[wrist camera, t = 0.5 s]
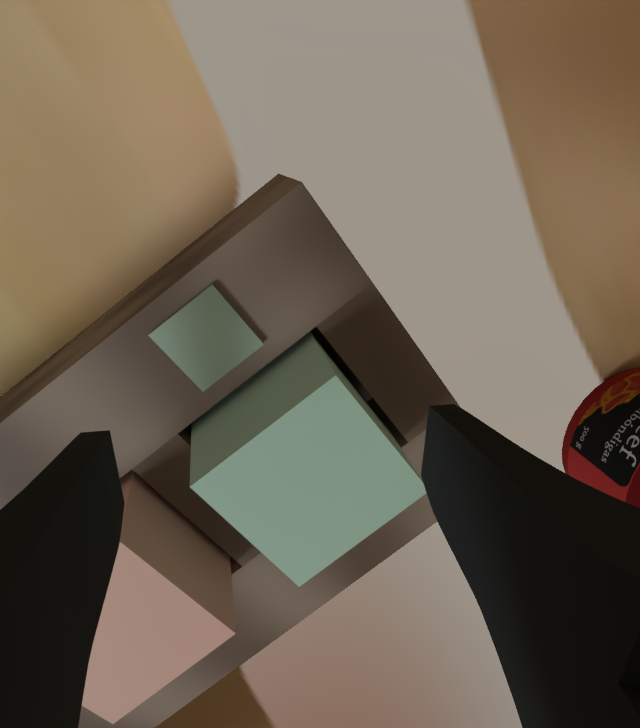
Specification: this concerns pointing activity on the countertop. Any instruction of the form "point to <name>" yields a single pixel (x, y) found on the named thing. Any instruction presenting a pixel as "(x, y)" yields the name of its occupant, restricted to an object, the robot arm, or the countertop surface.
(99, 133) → the countertop surface
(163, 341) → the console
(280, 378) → the key green
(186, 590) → the key terracotta
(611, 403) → the canned food
